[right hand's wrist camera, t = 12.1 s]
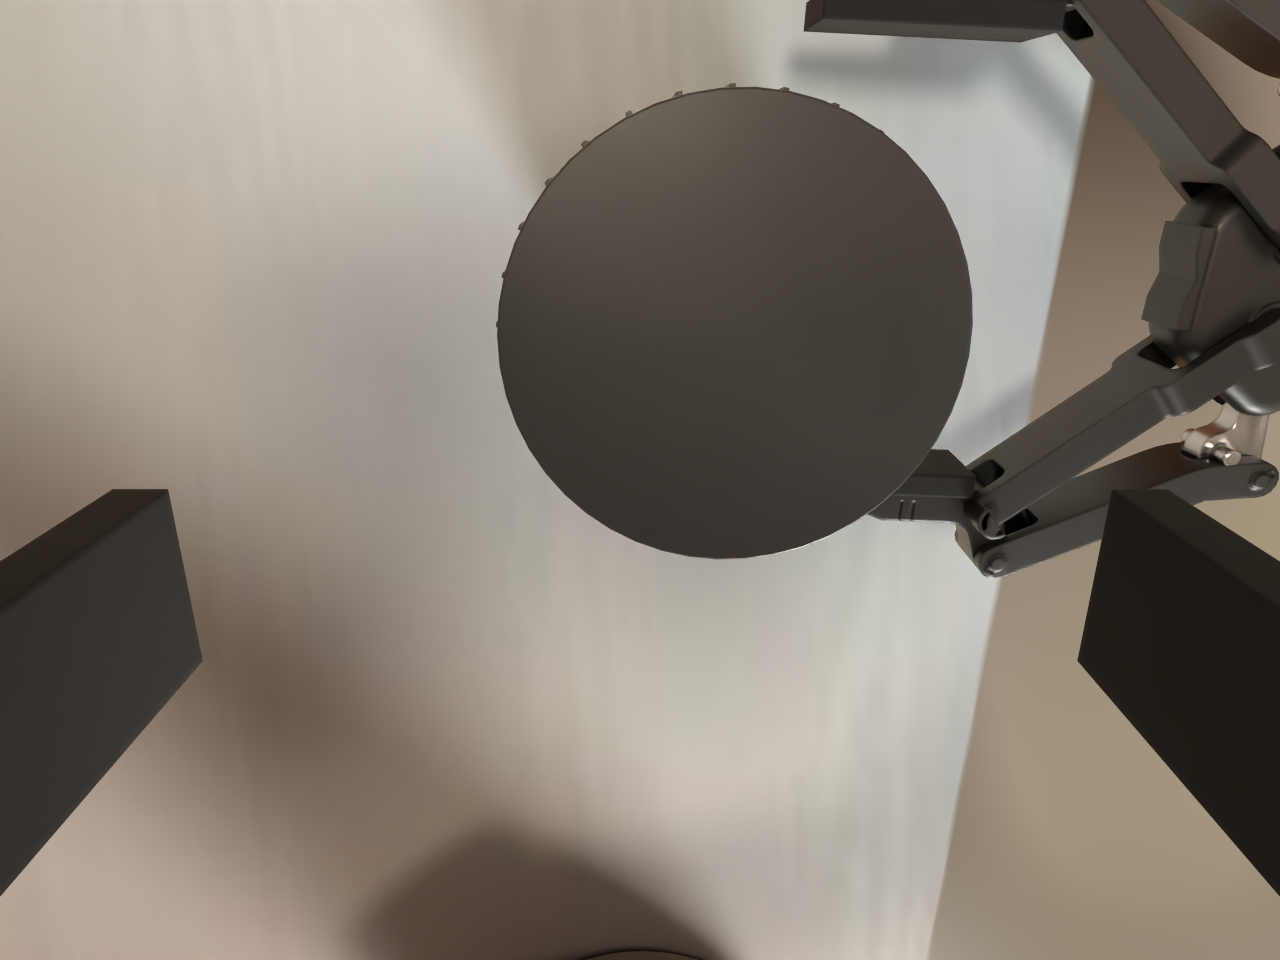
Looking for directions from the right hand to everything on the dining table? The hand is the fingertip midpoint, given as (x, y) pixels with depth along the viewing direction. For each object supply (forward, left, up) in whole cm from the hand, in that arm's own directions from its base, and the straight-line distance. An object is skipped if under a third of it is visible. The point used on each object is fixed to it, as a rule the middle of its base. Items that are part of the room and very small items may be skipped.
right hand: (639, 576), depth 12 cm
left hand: (-2, +5, -17) cm, 17 cm away
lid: (-2, +2, -6) cm, 6 cm away
